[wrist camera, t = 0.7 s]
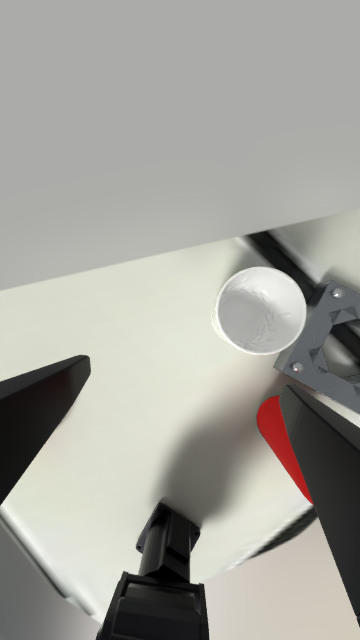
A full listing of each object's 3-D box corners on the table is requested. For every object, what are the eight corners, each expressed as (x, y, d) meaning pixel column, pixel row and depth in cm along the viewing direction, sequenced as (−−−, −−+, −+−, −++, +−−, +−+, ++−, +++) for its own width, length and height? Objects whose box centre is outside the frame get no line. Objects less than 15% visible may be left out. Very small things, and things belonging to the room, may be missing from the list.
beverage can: (246, 427, 26) (293, 508, 14) (265, 385, 26) (327, 430, 14) (289, 448, 26) (375, 551, 14) (308, 405, 26) (410, 469, 14)
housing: (362, 417, 25) (386, 429, 22) (273, 367, 26) (284, 372, 23) (408, 330, 26) (438, 330, 23) (318, 284, 27) (334, 278, 23)
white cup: (197, 302, 27) (202, 286, 17) (250, 281, 27) (284, 252, 17) (219, 354, 27) (236, 368, 17) (272, 333, 27) (321, 335, 17)
